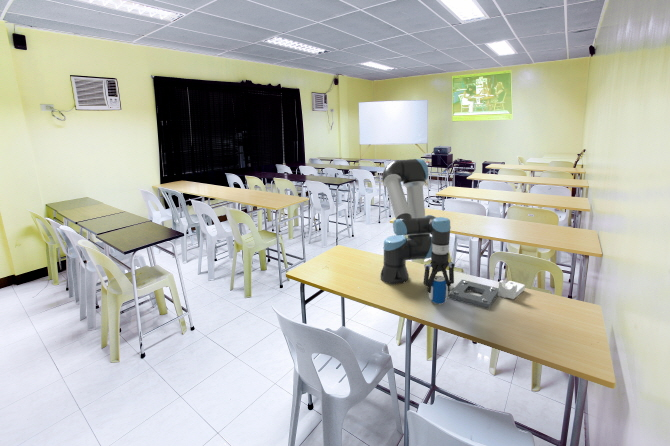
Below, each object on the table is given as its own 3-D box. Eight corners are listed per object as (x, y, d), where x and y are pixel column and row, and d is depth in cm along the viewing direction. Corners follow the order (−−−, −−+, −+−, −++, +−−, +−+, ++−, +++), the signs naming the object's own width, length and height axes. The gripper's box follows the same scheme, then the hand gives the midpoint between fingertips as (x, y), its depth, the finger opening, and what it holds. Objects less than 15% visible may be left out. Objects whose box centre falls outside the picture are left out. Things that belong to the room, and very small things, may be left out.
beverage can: (435, 296, 165) (436, 274, 161) (447, 301, 160) (448, 277, 157) (428, 301, 160) (428, 278, 157) (440, 306, 156) (441, 282, 153)
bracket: (513, 301, 158) (514, 286, 156) (497, 296, 164) (499, 281, 161) (524, 291, 167) (525, 277, 165) (509, 286, 172) (510, 273, 170)
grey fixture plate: (448, 298, 163) (449, 292, 162) (461, 283, 176) (462, 278, 176) (488, 309, 152) (489, 303, 151) (499, 293, 166) (499, 287, 165)
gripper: (422, 256, 149) (420, 303, 155) (464, 253, 151) (461, 299, 157) (416, 250, 156) (415, 296, 162) (456, 247, 158) (454, 292, 164)
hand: (437, 297), depth 160 cm, fingers closed on beverage can, 6 cm apart
